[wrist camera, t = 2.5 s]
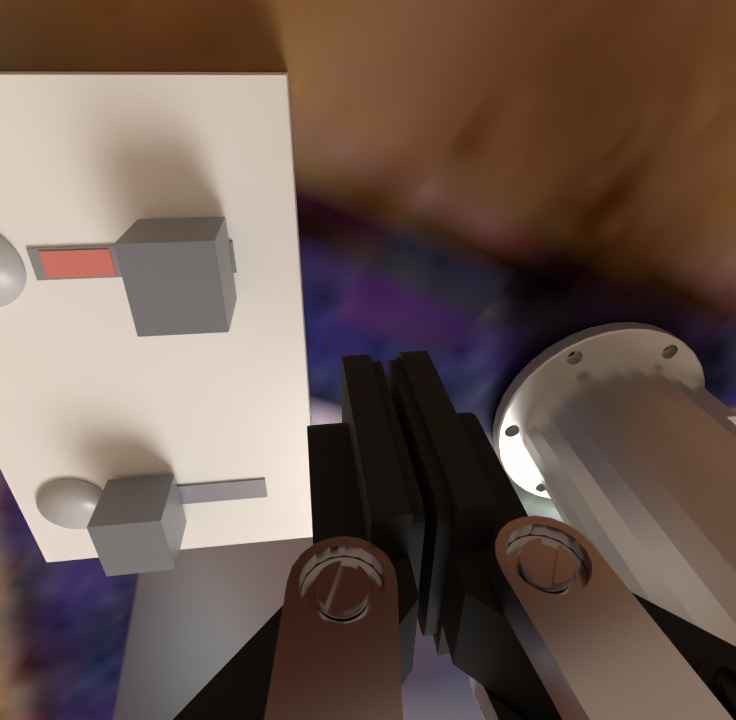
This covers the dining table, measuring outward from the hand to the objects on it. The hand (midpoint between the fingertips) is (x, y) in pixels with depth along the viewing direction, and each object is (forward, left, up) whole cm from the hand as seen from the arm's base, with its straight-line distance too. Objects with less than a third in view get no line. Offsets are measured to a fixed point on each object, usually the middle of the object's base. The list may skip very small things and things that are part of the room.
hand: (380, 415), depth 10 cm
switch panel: (+9, +5, -15) cm, 18 cm away
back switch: (+10, +12, -11) cm, 19 cm away
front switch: (+6, 0, -11) cm, 12 cm away
